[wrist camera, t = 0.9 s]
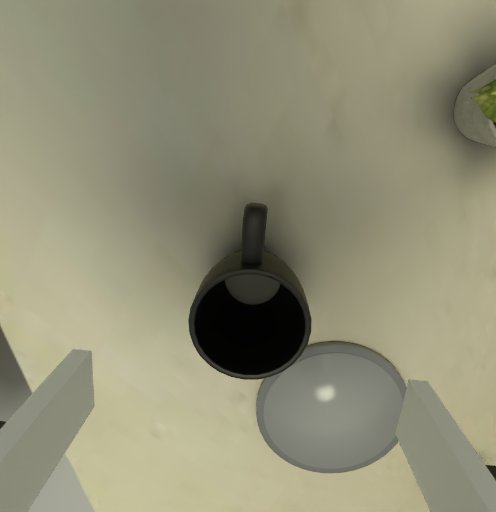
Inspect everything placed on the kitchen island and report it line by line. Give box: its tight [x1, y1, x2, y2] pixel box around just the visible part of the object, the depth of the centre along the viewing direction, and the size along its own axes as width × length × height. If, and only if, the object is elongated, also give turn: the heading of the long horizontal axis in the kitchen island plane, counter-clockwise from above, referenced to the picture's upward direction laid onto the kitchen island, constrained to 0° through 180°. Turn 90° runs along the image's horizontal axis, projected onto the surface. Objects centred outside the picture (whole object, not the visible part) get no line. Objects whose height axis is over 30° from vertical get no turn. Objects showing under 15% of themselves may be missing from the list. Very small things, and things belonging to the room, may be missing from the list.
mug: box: [189, 203, 311, 379], centre depth 28 cm, size 8×12×10 cm
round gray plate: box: [257, 341, 406, 473], centre depth 37 cm, size 15×15×1 cm
